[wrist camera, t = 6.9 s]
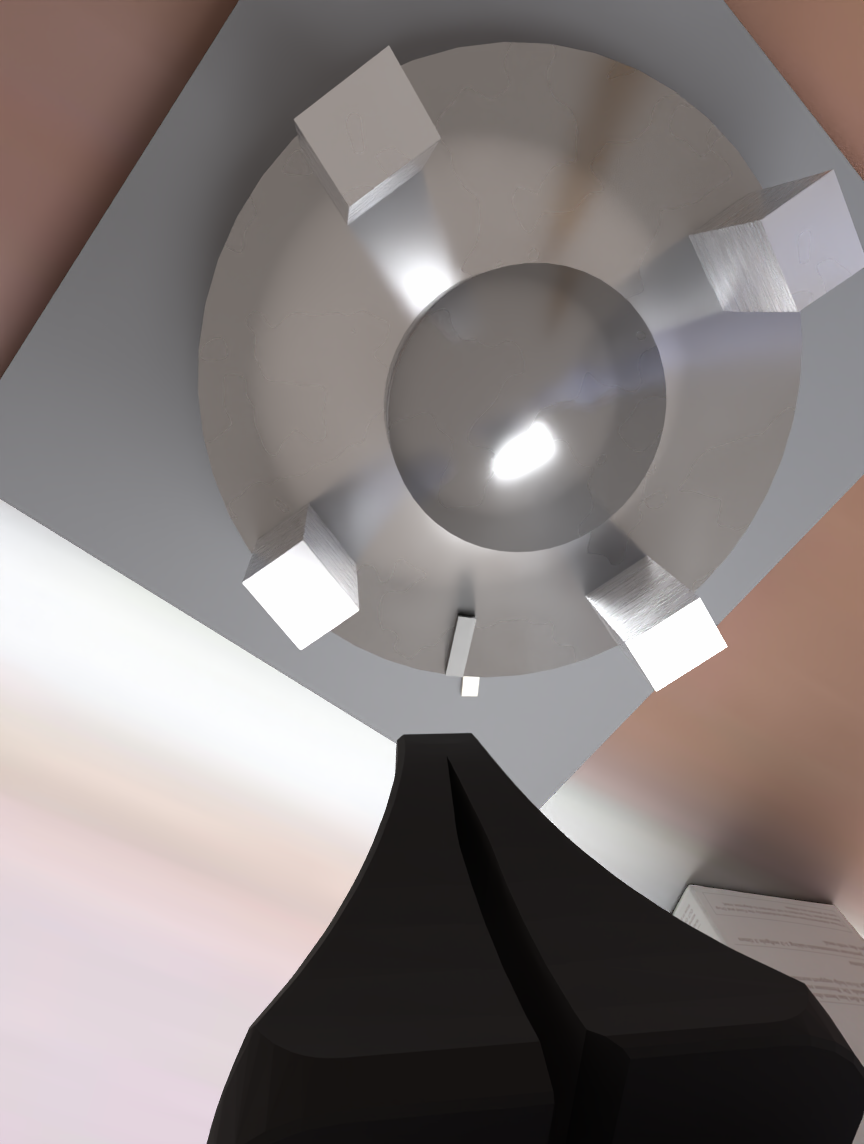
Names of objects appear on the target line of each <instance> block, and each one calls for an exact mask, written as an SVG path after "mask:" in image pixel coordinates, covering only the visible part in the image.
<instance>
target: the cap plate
mask: <svg viewBox="0 0 864 1144" xmlns="http://www.w3.org/2000/svg"><path fill="white" fill-rule="evenodd" d="M499 42H519V43H543V44H554V45H558V46H563V47H568V48H573V49H578V50H583V51H587V52H592V53H596V54H599V55H601V56H604V57H606V58H609V59H612V60H614V61H617V62H620V63H622V64H625V65H627V66H630V67H633V68H635V69H637V70H639V71H641V72H643V73H644V74H646V75H648V76H649V77H651V78H653V79H655V80H656V81H658V82H660V83H662V84H663V85H665V86H667V87H668V88H670V89H672V90H674V91H675V92H676V93H678V94H679V95H680V96H681V97H683V98H684V99H685V100H686V101H687V102H689V103H690V104H691V105H692V106H694V107H695V108H696V109H697V110H699V111H700V112H701V113H702V114H704V115H705V116H706V117H707V118H708V119H709V120H710V121H711V122H712V123H713V124H714V125H715V126H716V127H717V128H718V130H719V131H720V132H721V133H722V134H723V135H724V136H725V137H726V138H727V139H728V141H729V142H730V143H731V144H732V145H733V146H734V147H735V148H736V149H737V151H738V152H739V153H740V155H741V156H742V158H743V159H744V161H745V162H746V164H747V165H748V167H749V168H750V170H751V171H752V173H753V174H754V176H755V177H756V179H757V180H758V182H759V183H760V185H761V186H762V189H766V188H769V187H773V186H776V185H780V184H783V183H787V182H790V181H794V180H797V179H801V178H805V177H808V176H812V175H815V174H819V173H822V172H826V171H829V170H833V169H834V172H835V174H836V177H837V180H838V183H839V185H840V188H841V191H842V194H843V197H844V199H845V202H846V205H847V208H848V210H849V213H850V216H851V219H852V221H853V224H854V227H855V230H856V232H857V235H858V238H859V241H860V244H861V246H862V249H863V252H864V181H863V180H862V179H861V177H860V176H859V175H858V173H857V172H856V171H855V169H854V168H853V167H852V166H851V164H850V163H849V162H848V160H847V159H846V158H845V157H844V155H843V154H842V153H841V151H840V150H839V149H838V148H837V146H836V145H835V144H834V142H833V141H832V140H831V139H830V137H829V136H828V135H827V133H826V132H825V131H824V130H823V128H822V127H821V126H820V124H819V123H818V122H817V120H816V119H815V118H814V117H813V115H812V114H811V113H810V111H809V110H808V109H807V108H806V106H805V105H804V104H803V102H802V101H801V100H800V99H799V97H798V96H797V95H796V93H795V92H794V91H793V90H792V88H791V87H790V86H789V84H788V83H787V82H786V81H785V79H784V78H783V77H782V75H781V74H780V73H779V71H778V70H777V69H776V68H775V66H774V65H773V64H772V62H771V61H770V60H769V59H768V57H767V56H766V55H765V53H764V52H763V51H762V50H761V48H760V47H759V46H758V44H757V43H756V42H755V41H754V39H753V38H752V37H751V35H750V34H749V33H748V31H747V30H746V29H745V28H744V26H743V25H742V24H741V22H740V21H739V20H738V19H737V17H736V16H735V15H734V13H733V12H732V11H731V10H730V8H729V7H728V6H727V4H726V3H725V2H724V1H723V0H239V1H238V3H237V5H236V6H235V8H234V9H233V11H232V13H231V14H230V16H229V17H228V19H227V20H226V22H225V24H224V25H223V27H222V28H221V30H220V32H219V33H218V35H217V36H216V38H215V39H214V41H213V43H212V44H211V46H210V47H209V49H208V51H207V52H206V54H205V55H204V57H203V59H202V60H201V62H200V63H199V65H198V66H197V68H196V70H195V71H194V73H193V74H192V76H191V78H190V79H189V81H188V82H187V84H186V86H185V87H184V89H183V90H182V92H181V93H180V95H179V97H178V98H177V100H176V101H175V103H174V105H173V106H172V108H171V109H170V111H169V113H168V114H167V116H166V117H165V119H164V120H163V122H162V124H161V125H160V127H159V128H158V130H157V132H156V133H155V135H154V136H153V138H152V140H151V141H150V143H149V144H148V146H147V147H146V149H145V151H144V152H143V154H142V155H141V157H140V159H139V160H138V162H137V163H136V165H135V167H134V168H133V170H132V171H131V173H130V174H129V176H128V178H127V179H126V181H125V182H124V184H123V186H122V187H121V189H120V190H119V192H118V194H117V195H116V197H115V198H114V200H113V201H112V203H111V205H110V206H109V208H108V209H107V211H106V213H105V214H104V216H103V217H102V219H101V221H100V222H99V224H98V225H97V227H96V228H95V230H94V232H93V233H92V235H91V236H90V238H89V240H88V241H87V243H86V244H85V246H84V247H83V249H82V251H81V252H80V254H79V255H78V257H77V259H76V260H75V262H74V263H73V265H72V267H71V268H70V270H69V271H68V273H67V274H66V276H65V278H64V279H63V281H62V282H61V284H60V286H59V287H58V289H57V290H56V292H55V294H54V295H53V297H52V298H51V300H50V301H49V303H48V305H47V306H46V308H45V309H44V311H43V313H42V314H41V316H40V317H39V319H38V321H37V322H36V324H35V325H34V327H33V328H32V330H31V332H30V333H29V335H28V336H27V338H26V340H25V341H24V343H23V344H22V346H21V348H20V349H19V351H18V352H17V354H16V355H15V357H14V359H13V360H12V362H11V363H10V365H9V367H8V368H7V370H6V371H5V373H4V375H3V376H2V378H1V379H0V499H1V500H3V501H4V502H6V503H8V504H9V505H11V506H13V507H14V508H16V509H17V510H19V511H21V512H22V513H24V514H26V515H27V516H29V517H30V518H32V519H34V520H35V521H37V522H38V523H40V524H42V525H43V526H45V527H47V528H48V529H50V530H51V531H53V532H55V533H56V534H58V535H59V536H61V537H63V538H64V539H66V540H68V541H69V542H71V543H72V544H74V545H76V546H77V547H79V548H81V549H82V550H84V551H85V552H87V553H89V554H90V555H92V556H93V557H95V558H97V559H98V560H100V561H102V562H103V563H105V564H106V565H108V566H110V567H111V568H113V569H115V570H116V571H118V572H119V573H121V574H123V575H124V576H126V577H127V578H129V579H131V580H132V581H134V582H136V583H137V584H139V585H140V586H142V587H144V588H145V589H147V590H149V591H150V592H152V593H153V594H155V595H157V596H158V597H160V598H161V599H163V600H165V601H166V602H168V603H170V604H171V605H173V606H174V607H176V608H178V609H179V610H181V611H183V612H184V613H186V614H187V615H189V616H191V617H192V618H194V619H195V620H197V621H199V622H200V623H202V624H204V625H205V626H207V627H208V628H210V629H212V630H213V631H215V632H217V633H218V634H220V635H221V636H223V637H225V638H226V639H228V640H229V641H231V642H233V643H234V644H236V645H238V646H239V647H241V648H242V649H244V650H246V651H247V652H249V653H251V654H252V655H254V656H255V657H257V658H259V659H260V660H262V661H263V662H265V663H267V664H268V665H270V666H272V667H273V668H275V669H276V670H278V671H280V672H281V673H283V674H285V675H286V676H288V677H289V678H291V679H293V680H294V681H296V682H297V683H299V684H301V685H302V686H304V687H306V688H307V689H309V690H310V691H312V692H314V693H315V694H317V695H319V696H320V697H322V698H323V699H325V700H327V701H328V702H330V703H331V704H333V705H335V706H336V707H338V708H340V709H341V710H343V711H344V712H346V713H348V714H349V715H351V716H352V717H354V718H356V719H357V720H359V721H361V722H362V723H364V724H365V725H367V726H369V727H370V728H372V729H374V730H375V731H377V732H378V733H380V734H382V735H383V736H385V737H386V738H388V739H390V740H391V741H393V742H395V743H396V744H397V740H398V739H399V738H400V737H401V736H402V735H403V734H442V733H472V734H473V735H474V736H475V737H476V738H477V739H478V741H479V742H480V743H481V744H482V745H483V747H484V748H485V749H486V750H487V752H488V753H489V754H490V755H491V757H492V758H493V759H494V760H495V761H496V763H497V764H498V765H499V766H500V767H501V768H502V770H503V771H504V772H505V773H506V774H507V776H508V777H509V778H510V779H511V780H512V781H513V782H514V784H515V785H516V786H517V787H518V788H519V789H520V790H521V791H522V792H523V793H524V794H525V795H526V797H527V798H528V799H529V800H530V801H531V802H532V803H533V804H534V805H535V806H536V807H537V808H538V809H540V808H541V807H542V806H543V805H544V804H545V803H546V802H547V801H548V800H549V798H550V797H551V796H552V795H553V794H554V793H555V792H556V791H557V790H558V789H559V788H560V787H561V786H562V785H563V784H564V783H565V782H566V781H567V780H568V779H569V778H570V777H571V776H572V775H573V774H574V773H575V772H576V771H577V770H578V769H579V768H580V766H581V765H582V764H583V763H584V762H585V761H586V760H587V759H588V758H589V757H590V756H591V755H592V754H593V753H594V752H595V751H596V750H597V749H598V748H599V747H600V746H601V745H602V744H603V743H604V742H605V741H606V740H607V739H608V738H609V737H610V736H611V734H612V733H613V732H614V731H615V730H616V729H617V728H618V727H619V726H620V725H621V724H622V723H623V722H624V721H625V720H626V719H627V718H628V717H629V716H630V715H631V714H632V713H633V712H634V711H635V710H636V709H637V708H638V707H639V706H640V705H641V704H642V703H643V701H644V700H645V699H646V698H647V697H648V696H649V695H650V694H651V693H652V692H653V691H654V690H655V689H654V688H653V687H652V685H651V684H650V683H649V682H648V681H647V679H646V678H645V677H644V676H643V675H642V673H641V672H640V671H639V670H638V669H637V667H636V666H635V665H634V664H633V663H632V661H631V660H630V659H629V658H628V657H627V655H626V654H625V653H624V652H623V650H622V649H621V648H620V647H619V646H616V647H613V648H611V649H609V650H606V651H604V652H602V653H600V654H597V655H595V656H593V657H590V658H588V659H585V660H582V661H579V662H575V663H572V664H569V665H566V666H562V667H559V668H556V669H552V670H546V671H541V672H535V673H530V674H524V675H516V676H501V677H469V676H463V677H457V676H449V675H445V674H440V673H435V672H429V671H423V670H418V669H415V668H412V667H408V666H405V665H402V664H398V663H395V662H392V661H389V660H386V659H383V658H381V657H379V656H377V655H374V654H372V653H370V652H368V651H365V650H363V649H361V648H359V647H356V646H354V645H353V644H351V643H349V642H348V641H346V640H344V639H343V638H341V637H339V636H338V635H336V634H334V633H333V632H331V631H328V632H327V633H325V634H324V635H322V636H321V637H319V638H318V639H316V640H315V641H313V642H312V643H311V644H309V645H308V646H306V647H305V648H303V649H302V650H300V649H299V648H298V646H297V645H296V644H295V643H294V642H293V641H292V640H291V638H290V637H289V636H288V635H287V634H286V633H285V632H284V630H283V629H282V628H281V627H280V626H279V625H278V624H277V622H276V621H275V620H274V619H273V618H272V617H271V616H270V614H269V613H268V612H267V611H266V610H265V609H264V607H263V606H262V605H261V604H260V603H259V602H258V601H257V599H256V598H255V597H254V596H253V595H252V594H251V593H250V591H249V590H248V589H247V588H246V587H245V586H244V585H243V583H242V582H243V579H244V576H245V573H246V570H247V567H248V565H249V562H250V559H251V556H252V553H251V552H250V550H249V549H248V548H247V546H246V544H245V542H244V541H243V539H242V537H241V535H240V533H239V532H238V530H237V528H236V526H235V524H234V523H233V521H232V519H231V517H230V516H229V514H228V511H227V509H226V506H225V504H224V501H223V499H222V496H221V494H220V491H219V489H218V486H217V484H216V481H215V479H214V476H213V473H212V469H211V465H210V461H209V457H208V453H207V449H206V445H205V441H204V437H203V430H202V422H201V414H200V405H199V397H198V363H199V344H200V337H201V330H202V323H203V316H204V310H205V304H206V300H207V297H208V293H209V290H210V286H211V283H212V279H213V276H214V272H215V269H216V265H217V262H218V259H219V257H220V254H221V252H222V250H223V248H224V245H225V243H226V241H227V238H228V236H229V234H230V232H231V229H232V227H233V225H234V223H235V220H236V218H237V216H238V214H239V213H240V211H241V210H242V208H243V206H244V205H245V203H246V202H247V200H248V198H249V197H250V195H251V193H252V192H253V190H254V189H255V187H256V185H257V184H258V182H259V181H260V179H261V177H262V176H263V175H264V173H265V172H266V171H267V170H268V169H269V167H270V166H271V165H272V164H273V163H274V161H275V160H276V159H277V158H278V157H279V155H280V154H281V153H282V152H283V151H284V149H285V148H286V147H287V146H288V145H289V143H290V142H291V141H292V140H293V139H294V138H295V137H296V136H297V131H296V127H295V123H294V119H295V118H296V117H297V116H298V115H300V114H301V113H302V112H304V111H305V110H306V109H307V108H309V107H310V106H311V105H313V104H314V103H315V102H316V101H318V100H319V99H320V98H322V97H323V96H324V95H325V94H327V93H328V92H329V91H331V90H332V89H333V88H334V87H336V86H337V85H338V84H340V83H341V82H342V81H344V80H345V79H346V78H347V77H349V76H350V75H351V74H353V73H354V72H355V71H356V70H358V69H359V68H360V67H362V66H363V65H364V64H365V63H367V62H368V61H369V60H371V59H372V58H373V57H374V56H376V55H377V54H378V53H380V52H381V51H382V50H383V49H385V48H386V47H387V46H390V48H391V50H392V51H393V53H394V55H395V57H396V59H397V60H398V62H399V64H400V66H401V65H403V64H406V63H408V62H410V61H412V60H415V59H419V58H422V57H426V56H429V55H433V54H437V53H440V52H444V51H447V50H451V49H454V48H458V47H466V46H474V45H482V44H491V43H499ZM800 314H801V330H802V357H801V374H800V386H799V391H798V397H797V402H796V408H795V414H794V419H793V424H792V427H791V430H790V434H789V437H788V440H787V444H786V447H785V450H784V454H783V457H782V460H781V462H780V465H779V467H778V469H777V472H776V474H775V477H774V479H773V481H772V484H771V486H770V488H769V491H768V493H767V495H766V497H765V499H764V500H763V502H762V504H761V506H760V508H759V509H758V511H757V513H756V515H755V516H754V518H753V520H752V522H751V524H750V525H749V527H748V528H747V530H746V531H745V533H744V534H743V535H742V537H741V538H740V540H739V541H738V542H737V544H736V545H735V547H734V548H733V549H732V551H731V552H730V554H729V555H728V556H727V558H726V559H725V560H724V561H723V562H722V563H721V564H720V565H719V567H718V568H717V569H716V570H715V571H714V572H713V573H712V574H711V576H710V577H709V578H708V579H707V580H706V581H705V582H704V583H703V584H702V585H701V586H700V587H699V588H698V589H697V590H696V591H695V592H694V593H695V594H696V595H697V596H698V597H700V599H701V601H702V602H703V604H704V606H705V608H706V610H707V611H708V613H709V615H710V617H711V618H712V620H713V622H714V624H715V626H717V625H718V624H719V623H720V622H721V621H722V620H723V619H724V618H725V617H726V616H727V615H728V614H729V613H730V612H731V611H732V610H733V609H734V608H735V607H736V605H737V604H738V603H739V602H740V601H741V600H742V599H743V598H744V597H745V596H746V595H747V594H748V593H749V592H750V591H751V590H752V589H753V588H754V587H755V586H756V585H757V584H758V583H759V582H760V581H761V580H762V579H763V578H764V577H765V576H766V575H767V573H768V572H769V571H770V570H771V569H772V568H773V567H774V566H775V565H776V564H777V563H778V562H779V561H780V560H781V559H782V558H783V557H784V556H785V555H786V554H787V553H788V552H789V551H790V550H791V549H792V548H793V547H794V546H795V545H796V544H797V543H798V541H799V540H800V539H801V538H802V537H803V536H804V535H805V534H806V533H807V532H808V531H809V530H810V529H811V528H812V527H813V526H814V525H815V524H816V523H817V522H818V521H819V520H820V519H821V518H822V517H823V516H824V515H825V514H826V513H827V512H828V511H829V509H830V508H831V507H832V506H833V505H834V504H835V503H836V502H837V501H838V500H839V499H840V498H841V497H842V496H843V495H844V494H845V493H846V492H847V491H848V490H849V489H850V488H851V487H852V486H853V485H854V484H855V483H856V482H857V481H858V480H859V479H860V477H861V476H862V475H863V474H864V268H862V269H861V270H859V271H858V272H856V273H855V274H853V275H852V276H850V277H849V278H848V279H846V280H845V281H843V282H842V283H840V284H839V285H837V286H836V287H834V288H833V289H831V290H830V291H828V292H827V293H825V294H824V295H823V296H821V297H820V298H818V299H817V300H815V301H814V302H812V303H811V304H809V305H808V306H806V307H805V308H803V309H802V310H800Z"/></svg>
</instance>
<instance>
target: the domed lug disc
mask: <svg viewBox="0 0 864 1144" xmlns="http://www.w3.org/2000/svg"><path fill="white" fill-rule="evenodd" d="M294 123H295V127H296V131H297V136H296V137H295V138H294V139H293V140H292V141H291V142H290V143H289V145H288V146H287V147H286V148H285V149H284V151H283V152H282V153H281V154H280V155H279V157H278V158H277V159H276V160H275V161H274V163H273V164H272V165H271V166H270V167H269V169H268V170H267V171H266V172H265V173H264V175H263V176H262V177H261V179H260V181H259V182H258V184H257V185H256V187H255V189H254V190H253V192H252V193H251V195H250V197H249V198H248V200H247V202H246V203H245V205H244V206H243V208H242V210H241V211H240V213H239V214H238V216H237V218H236V220H235V223H234V225H233V227H232V229H231V232H230V234H229V236H228V238H227V241H226V243H225V245H224V248H223V250H222V252H221V254H220V257H219V259H218V262H217V265H216V269H215V272H214V276H213V279H212V283H211V286H210V290H209V293H208V297H207V300H206V304H205V310H204V316H203V323H202V330H201V337H200V344H199V363H198V397H199V405H200V414H201V422H202V430H203V437H204V441H205V445H206V449H207V453H208V457H209V461H210V465H211V469H212V473H213V476H214V479H215V481H216V484H217V486H218V489H219V491H220V494H221V496H222V499H223V501H224V504H225V506H226V509H227V511H228V514H229V516H230V517H231V519H232V521H233V523H234V524H235V526H236V528H237V530H238V532H239V533H240V535H241V537H242V539H243V541H244V542H245V544H246V546H247V548H248V549H249V550H250V552H251V553H252V556H251V559H250V562H249V565H248V567H247V570H246V573H245V576H244V579H243V582H242V583H243V585H244V586H245V587H246V588H247V589H248V590H249V591H250V593H251V594H252V595H253V596H254V597H255V598H256V599H257V601H258V602H259V603H260V604H261V605H262V606H263V607H264V609H265V610H266V611H267V612H268V613H269V614H270V616H271V617H272V618H273V619H274V620H275V621H276V622H277V624H278V625H279V626H280V627H281V628H282V629H283V630H284V632H285V633H286V634H287V635H288V636H289V637H290V638H291V640H292V641H293V642H294V643H295V644H296V645H297V646H298V648H299V649H300V650H302V649H303V648H305V647H306V646H308V645H309V644H311V643H312V642H313V641H315V640H316V639H318V638H319V637H321V636H322V635H324V634H325V633H327V632H328V631H331V632H333V633H334V634H336V635H338V636H339V637H341V638H343V639H344V640H346V641H348V642H349V643H351V644H353V645H354V646H356V647H359V648H361V649H363V650H365V651H368V652H370V653H372V654H374V655H377V656H379V657H381V658H383V659H386V660H389V661H392V662H395V663H398V664H402V665H405V666H408V667H412V668H415V669H418V670H423V671H429V672H435V673H440V674H445V675H449V676H457V677H463V676H469V677H501V676H516V675H524V674H530V673H535V672H541V671H546V670H552V669H556V668H559V667H562V666H566V665H569V664H572V663H575V662H579V661H582V660H585V659H588V658H590V657H593V656H595V655H597V654H600V653H602V652H604V651H606V650H609V649H611V648H613V647H616V646H619V647H620V648H621V649H622V650H623V652H624V653H625V654H626V655H627V657H628V658H629V659H630V660H631V661H632V663H633V664H634V665H635V666H636V667H637V669H638V670H639V671H640V672H641V673H642V675H643V676H644V677H645V678H646V679H647V681H648V682H649V683H650V684H651V685H652V687H653V688H654V689H655V690H656V691H658V690H659V689H661V688H663V687H664V686H666V685H667V684H669V683H670V682H672V681H674V680H675V679H677V678H678V677H680V676H682V675H683V674H685V673H686V672H688V671H689V670H691V669H693V668H694V667H696V666H697V665H699V664H700V663H702V662H704V661H705V660H707V659H708V658H710V657H712V656H713V655H715V654H716V653H718V652H719V651H721V650H723V649H724V648H726V647H727V645H726V643H725V642H724V640H723V638H722V636H721V634H720V633H719V631H718V629H717V627H716V626H715V624H714V622H713V620H712V618H711V617H710V615H709V613H708V611H707V610H706V608H705V606H704V604H703V602H702V601H701V599H700V597H698V596H697V595H696V594H695V593H694V592H695V591H696V590H697V589H698V588H699V587H700V586H701V585H702V584H703V583H704V582H705V581H706V580H707V579H708V578H709V577H710V576H711V574H712V573H713V572H714V571H715V570H716V569H717V568H718V567H719V565H720V564H721V563H722V562H723V561H724V560H725V559H726V558H727V556H728V555H729V554H730V552H731V551H732V549H733V548H734V547H735V545H736V544H737V542H738V541H739V540H740V538H741V537H742V535H743V534H744V533H745V531H746V530H747V528H748V527H749V525H750V524H751V522H752V520H753V518H754V516H755V515H756V513H757V511H758V509H759V508H760V506H761V504H762V502H763V500H764V499H765V497H766V495H767V493H768V491H769V488H770V486H771V484H772V481H773V479H774V477H775V474H776V472H777V469H778V467H779V465H780V462H781V460H782V457H783V454H784V450H785V447H786V444H787V440H788V437H789V434H790V430H791V427H792V424H793V419H794V414H795V408H796V402H797V397H798V391H799V386H800V374H801V357H802V330H801V314H800V310H802V309H803V308H805V307H806V306H808V305H809V304H811V303H812V302H814V301H815V300H817V299H818V298H820V297H821V296H823V295H824V294H825V293H827V292H828V291H830V290H831V289H833V288H834V287H836V286H837V285H839V284H840V283H842V282H843V281H845V280H846V279H848V278H849V277H850V276H852V275H853V274H855V273H856V272H858V271H859V270H861V269H862V268H864V252H863V249H862V246H861V244H860V241H859V238H858V235H857V232H856V230H855V227H854V224H853V221H852V219H851V216H850V213H849V210H848V208H847V205H846V202H845V199H844V197H843V194H842V191H841V188H840V185H839V183H838V180H837V177H836V174H835V172H834V169H833V170H829V171H826V172H822V173H819V174H815V175H812V176H808V177H805V178H801V179H797V180H794V181H790V182H787V183H783V184H780V185H776V186H773V187H769V188H766V189H762V186H761V185H760V183H759V182H758V180H757V179H756V177H755V176H754V174H753V173H752V171H751V170H750V168H749V167H748V165H747V164H746V162H745V161H744V159H743V158H742V156H741V155H740V153H739V152H738V151H737V149H736V148H735V147H734V146H733V145H732V144H731V143H730V142H729V141H728V139H727V138H726V137H725V136H724V135H723V134H722V133H721V132H720V131H719V130H718V128H717V127H716V126H715V125H714V124H713V123H712V122H711V121H710V120H709V119H708V118H707V117H706V116H705V115H704V114H702V113H701V112H700V111H699V110H697V109H696V108H695V107H694V106H692V105H691V104H690V103H689V102H687V101H686V100H685V99H684V98H683V97H681V96H680V95H679V94H678V93H676V92H675V91H674V90H672V89H670V88H668V87H667V86H665V85H663V84H662V83H660V82H658V81H656V80H655V79H653V78H651V77H649V76H648V75H646V74H644V73H643V72H641V71H639V70H637V69H635V68H633V67H630V66H627V65H625V64H622V63H620V62H617V61H614V60H612V59H609V58H606V57H604V56H601V55H599V54H596V53H592V52H587V51H583V50H578V49H573V48H568V47H563V46H558V45H554V44H543V43H519V42H499V43H491V44H482V45H474V46H466V47H458V48H454V49H451V50H447V51H444V52H440V53H437V54H433V55H429V56H426V57H422V58H419V59H415V60H412V61H410V62H408V63H406V64H403V65H401V66H400V64H399V62H398V60H397V59H396V57H395V55H394V53H393V51H392V50H391V48H390V46H387V47H386V48H385V49H383V50H382V51H381V52H380V53H378V54H377V55H376V56H374V57H373V58H372V59H371V60H369V61H368V62H367V63H365V64H364V65H363V66H362V67H360V68H359V69H358V70H356V71H355V72H354V73H353V74H351V75H350V76H349V77H347V78H346V79H345V80H344V81H342V82H341V83H340V84H338V85H337V86H336V87H334V88H333V89H332V90H331V91H329V92H328V93H327V94H325V95H324V96H323V97H322V98H320V99H319V100H318V101H316V102H315V103H314V104H313V105H311V106H310V107H309V108H307V109H306V110H305V111H304V112H302V113H301V114H300V115H298V116H297V117H296V118H295V119H294Z"/></svg>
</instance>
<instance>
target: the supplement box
mask: <svg viewBox="0 0 864 1144" xmlns="http://www.w3.org/2000/svg"><path fill="white" fill-rule="evenodd" d="M672 915H673V916H675V917H677V918H678V919H680V920H682V921H683V922H685V923H687V924H688V925H690V926H692V927H694V928H695V929H697V930H699V931H701V932H703V933H704V934H706V935H708V936H710V937H712V938H713V939H715V940H717V941H719V942H721V943H722V944H724V945H726V946H728V947H730V948H732V949H734V950H736V951H738V952H740V953H742V954H744V955H746V956H748V957H750V958H752V959H754V960H757V961H759V962H761V963H763V964H765V965H767V966H769V967H771V968H773V969H776V970H778V971H780V972H782V973H784V974H786V975H788V976H790V977H792V978H795V979H797V980H799V981H801V982H803V983H805V984H806V986H807V987H808V988H809V990H810V991H811V992H812V993H813V995H814V996H815V997H816V999H817V1000H818V1001H819V1003H820V1004H821V1005H822V1006H823V1008H824V1009H825V1010H826V1012H827V1013H828V1014H829V1016H830V1017H831V1019H832V1020H833V1022H834V1023H835V1025H836V1026H837V1028H838V1029H839V1031H840V1032H841V1034H842V1035H843V1037H844V1038H845V1040H846V1041H847V1043H848V1044H849V1046H850V1048H851V1049H852V1051H853V1052H854V1054H855V1055H856V1056H857V1058H858V1059H859V1061H860V1062H861V1064H862V1065H863V1067H864V939H863V938H862V937H861V936H860V935H859V934H858V932H857V931H856V930H855V929H854V927H853V926H852V925H851V924H850V923H849V922H848V920H847V919H846V918H845V917H844V915H843V914H842V913H841V912H840V911H839V909H838V908H837V907H836V906H834V905H829V904H821V903H813V902H806V901H799V900H792V899H786V898H779V897H772V896H765V895H758V894H750V893H743V892H737V891H731V890H724V889H717V888H710V887H703V886H698V885H689V886H688V887H687V888H686V890H685V892H684V893H683V895H682V897H681V899H680V901H679V903H678V905H677V906H676V908H675V910H674V912H673V914H672ZM852 1144H864V1114H863V1118H862V1120H861V1123H860V1125H859V1128H858V1130H857V1133H856V1135H855V1138H854V1140H853V1143H852Z"/></svg>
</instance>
